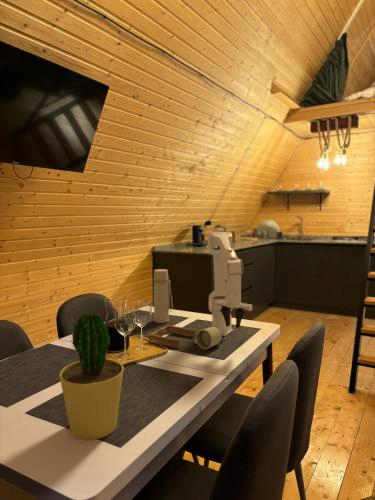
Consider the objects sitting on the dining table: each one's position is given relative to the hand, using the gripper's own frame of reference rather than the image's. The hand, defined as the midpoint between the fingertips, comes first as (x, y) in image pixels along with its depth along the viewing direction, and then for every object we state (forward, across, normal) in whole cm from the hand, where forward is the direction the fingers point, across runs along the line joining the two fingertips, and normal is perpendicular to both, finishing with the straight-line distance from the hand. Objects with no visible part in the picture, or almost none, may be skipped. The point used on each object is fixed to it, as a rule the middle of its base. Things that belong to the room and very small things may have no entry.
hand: (233, 326), depth 147 cm
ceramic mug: (+10, -11, 0) cm, 15 cm away
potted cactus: (+10, -11, -64) cm, 66 cm away
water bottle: (+10, -44, +20) cm, 49 cm away
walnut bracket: (+9, -27, 0) cm, 29 cm away
